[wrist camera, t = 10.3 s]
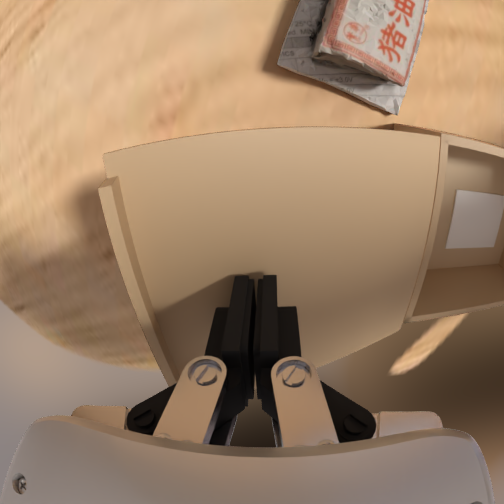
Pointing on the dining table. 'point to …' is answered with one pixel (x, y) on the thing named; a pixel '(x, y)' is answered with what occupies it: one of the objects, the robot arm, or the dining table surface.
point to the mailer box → (462, 231)
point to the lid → (272, 231)
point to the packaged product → (357, 46)
